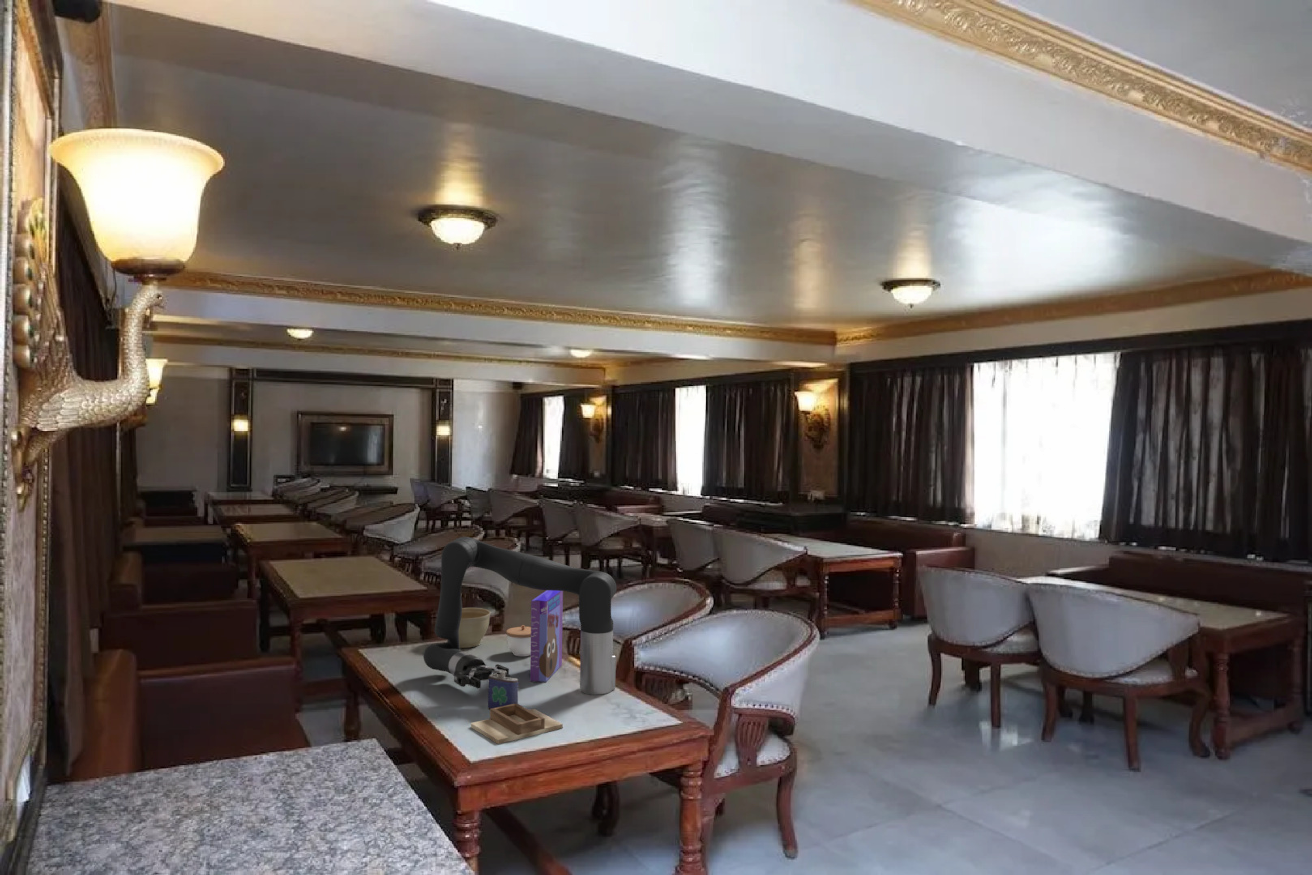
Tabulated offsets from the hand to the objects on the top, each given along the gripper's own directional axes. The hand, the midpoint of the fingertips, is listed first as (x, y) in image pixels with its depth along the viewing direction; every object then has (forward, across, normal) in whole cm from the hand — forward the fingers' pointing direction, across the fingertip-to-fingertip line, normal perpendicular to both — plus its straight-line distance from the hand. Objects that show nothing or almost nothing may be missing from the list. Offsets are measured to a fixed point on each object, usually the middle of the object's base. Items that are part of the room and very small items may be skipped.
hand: (494, 681), depth 229 cm
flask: (+5, 0, +7) cm, 8 cm away
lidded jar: (-40, +32, +7) cm, 52 cm away
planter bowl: (-61, +22, +7) cm, 65 cm away
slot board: (+18, -3, +6) cm, 19 cm away
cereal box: (-17, +27, +7) cm, 33 cm away
